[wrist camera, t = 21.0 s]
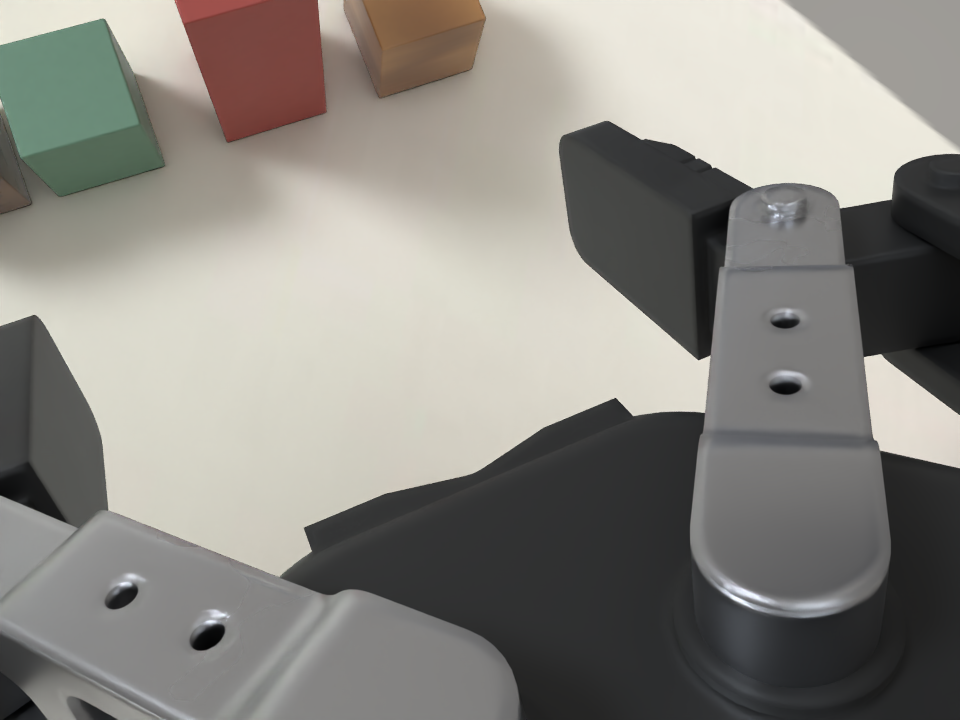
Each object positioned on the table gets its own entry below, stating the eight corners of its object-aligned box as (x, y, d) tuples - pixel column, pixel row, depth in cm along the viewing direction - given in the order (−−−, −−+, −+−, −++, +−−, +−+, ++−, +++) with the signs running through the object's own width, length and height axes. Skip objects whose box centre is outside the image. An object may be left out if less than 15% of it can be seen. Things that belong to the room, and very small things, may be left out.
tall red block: (227, 143, 35) (183, 24, 26) (192, 46, 35) (136, -103, 26) (327, 112, 36) (317, -13, 27) (291, 18, 36) (270, -136, 27)
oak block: (379, 99, 36) (382, 50, 32) (342, 6, 36) (340, -53, 32) (472, 69, 37) (486, 18, 33) (435, -22, 37) (445, -83, 33)
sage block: (59, 197, 34) (20, 159, 30) (25, 97, 34) (-18, 45, 30) (166, 166, 34) (141, 124, 30) (131, 68, 35) (103, 14, 31)
